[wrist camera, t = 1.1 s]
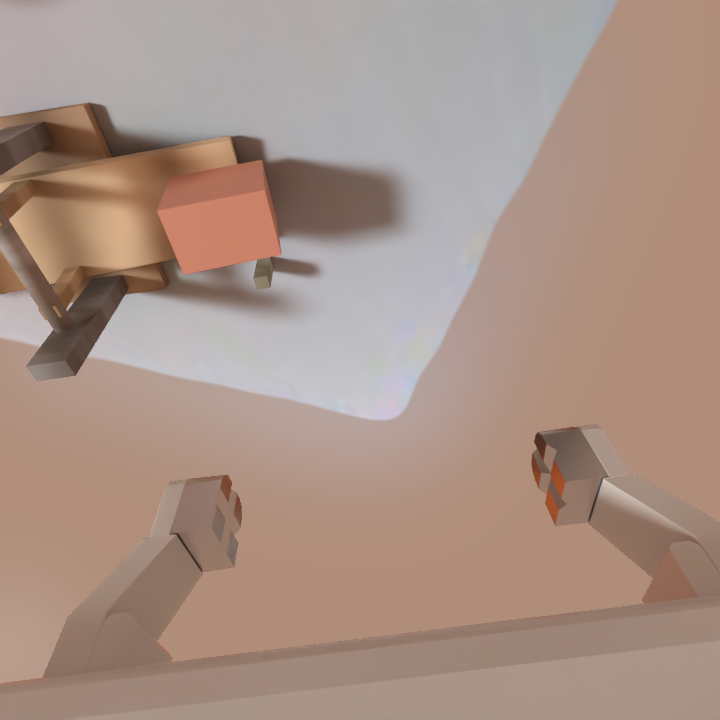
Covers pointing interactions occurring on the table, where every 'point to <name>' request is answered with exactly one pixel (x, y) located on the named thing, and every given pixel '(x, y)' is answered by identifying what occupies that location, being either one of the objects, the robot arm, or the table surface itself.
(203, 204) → the salmon red rectangular block
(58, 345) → the stand
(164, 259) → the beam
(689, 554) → the robot arm
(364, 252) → the table surface
